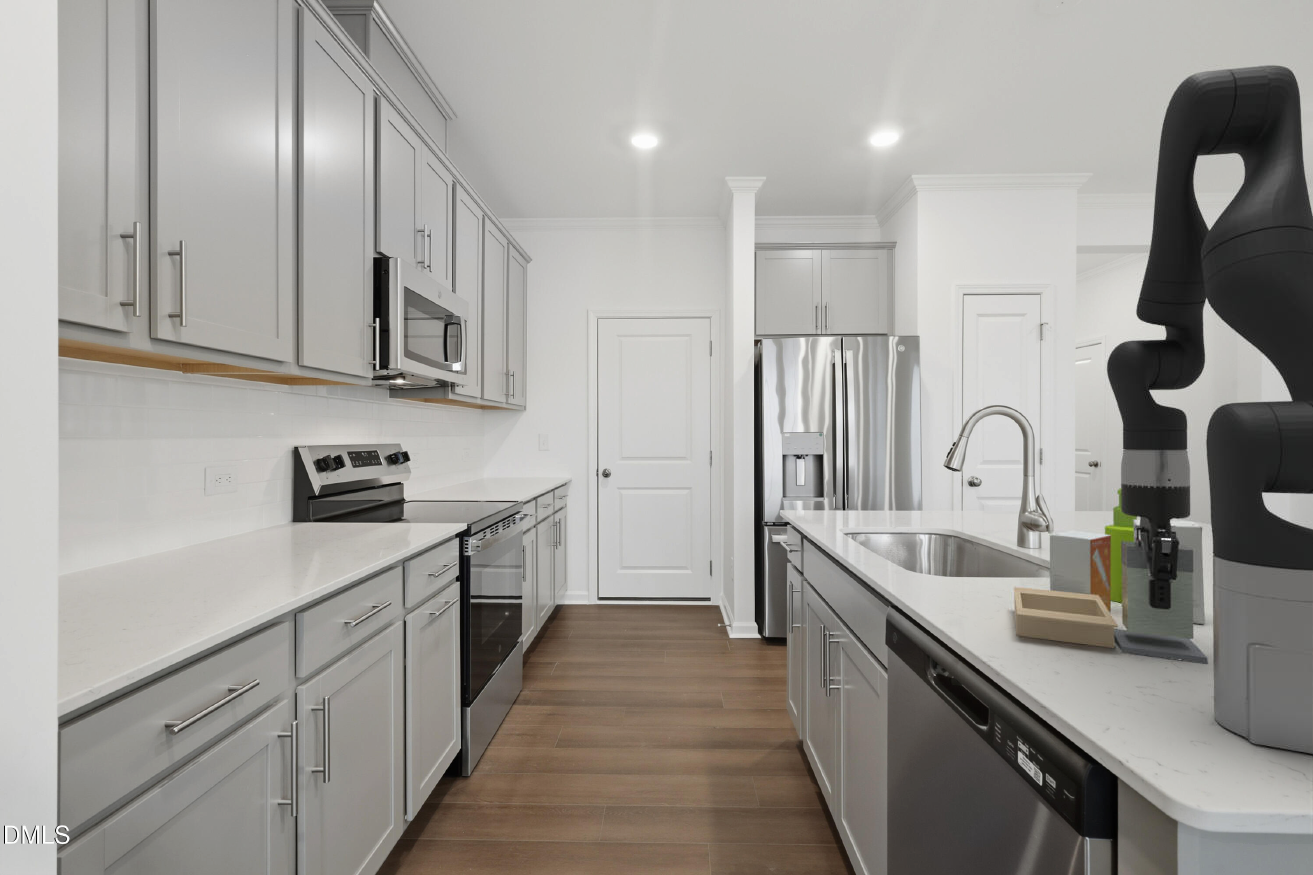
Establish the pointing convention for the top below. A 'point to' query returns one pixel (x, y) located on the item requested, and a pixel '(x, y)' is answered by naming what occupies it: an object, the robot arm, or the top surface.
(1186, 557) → the tea tin
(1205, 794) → the top surface
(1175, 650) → the mat
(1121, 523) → the soap dispenser
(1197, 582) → the skincare box
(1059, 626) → the wooden rectangular frame
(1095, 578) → the small box
